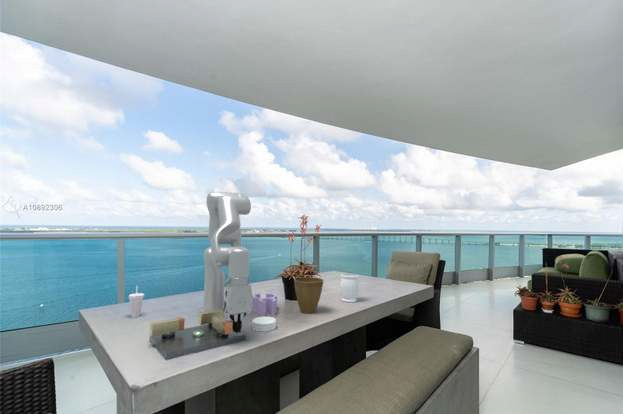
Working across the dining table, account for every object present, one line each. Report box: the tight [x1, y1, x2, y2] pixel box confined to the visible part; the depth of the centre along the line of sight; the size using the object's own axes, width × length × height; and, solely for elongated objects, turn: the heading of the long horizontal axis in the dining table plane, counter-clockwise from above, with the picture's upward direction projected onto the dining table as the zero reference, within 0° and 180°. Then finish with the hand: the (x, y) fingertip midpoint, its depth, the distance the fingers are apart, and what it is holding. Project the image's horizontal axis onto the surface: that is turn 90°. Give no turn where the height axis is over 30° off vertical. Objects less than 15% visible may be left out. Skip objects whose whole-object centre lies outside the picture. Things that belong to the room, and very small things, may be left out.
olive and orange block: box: [149, 316, 186, 338], centre depth 113 cm, size 11×4×5 cm, turn 133°
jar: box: [340, 273, 360, 303], centre depth 182 cm, size 11×10×15 cm
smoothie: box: [128, 285, 145, 318], centre depth 143 cm, size 6×6×14 cm
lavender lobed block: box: [251, 292, 278, 317], centre depth 157 cm, size 20×12×7 cm, turn 18°
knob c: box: [212, 315, 233, 336], centre depth 116 cm, size 11×4×5 cm, turn 41°
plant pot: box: [293, 276, 324, 314], centre depth 158 cm, size 15×15×16 cm
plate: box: [149, 324, 247, 360], centre depth 115 cm, size 20×28×3 cm
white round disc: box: [251, 316, 277, 333], centre depth 131 cm, size 10×10×4 cm
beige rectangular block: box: [197, 309, 228, 327], centre depth 126 cm, size 11×4×5 cm, turn 131°
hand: (236, 331), depth 116 cm, fingers closed
